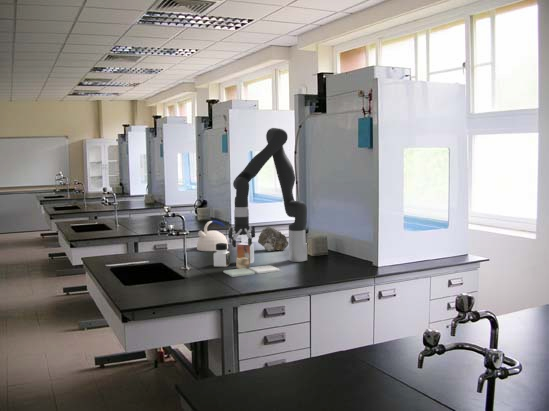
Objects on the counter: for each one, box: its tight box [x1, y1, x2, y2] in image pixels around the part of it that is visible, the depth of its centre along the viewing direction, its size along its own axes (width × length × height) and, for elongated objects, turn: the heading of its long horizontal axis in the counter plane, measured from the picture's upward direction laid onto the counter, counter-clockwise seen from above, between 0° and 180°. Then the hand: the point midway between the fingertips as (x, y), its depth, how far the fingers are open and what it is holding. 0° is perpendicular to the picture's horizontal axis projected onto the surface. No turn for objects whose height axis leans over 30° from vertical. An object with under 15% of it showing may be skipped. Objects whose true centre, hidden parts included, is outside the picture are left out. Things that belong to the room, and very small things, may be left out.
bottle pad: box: [223, 268, 256, 278], centre depth 279 cm, size 12×12×1 cm
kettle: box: [196, 220, 229, 252], centre depth 355 cm, size 20×21×18 cm
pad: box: [248, 264, 281, 274], centre depth 285 cm, size 12×12×1 cm
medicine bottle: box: [213, 243, 231, 268], centre depth 300 cm, size 7×7×12 cm
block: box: [235, 257, 250, 269], centre depth 293 cm, size 5×5×5 cm
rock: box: [257, 226, 289, 252], centre depth 344 cm, size 18×14×15 cm
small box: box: [236, 242, 255, 265], centre depth 306 cm, size 8×6×10 cm
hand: (242, 246), depth 291 cm, fingers open, 8 cm apart
